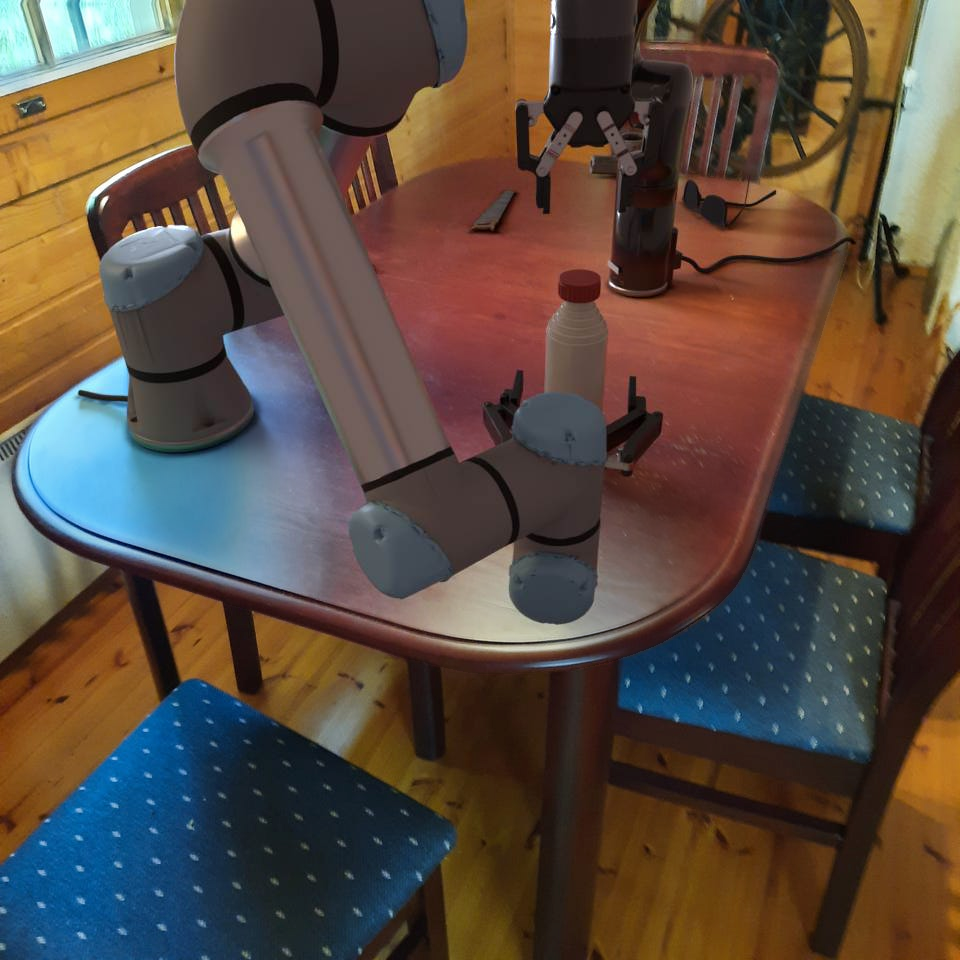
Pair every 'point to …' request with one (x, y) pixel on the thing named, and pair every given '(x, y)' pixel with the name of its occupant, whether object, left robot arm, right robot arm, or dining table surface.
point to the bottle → (577, 352)
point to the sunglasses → (714, 204)
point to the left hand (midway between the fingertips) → (575, 382)
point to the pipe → (610, 163)
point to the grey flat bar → (493, 213)
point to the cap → (579, 286)
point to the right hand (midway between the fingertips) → (583, 210)
